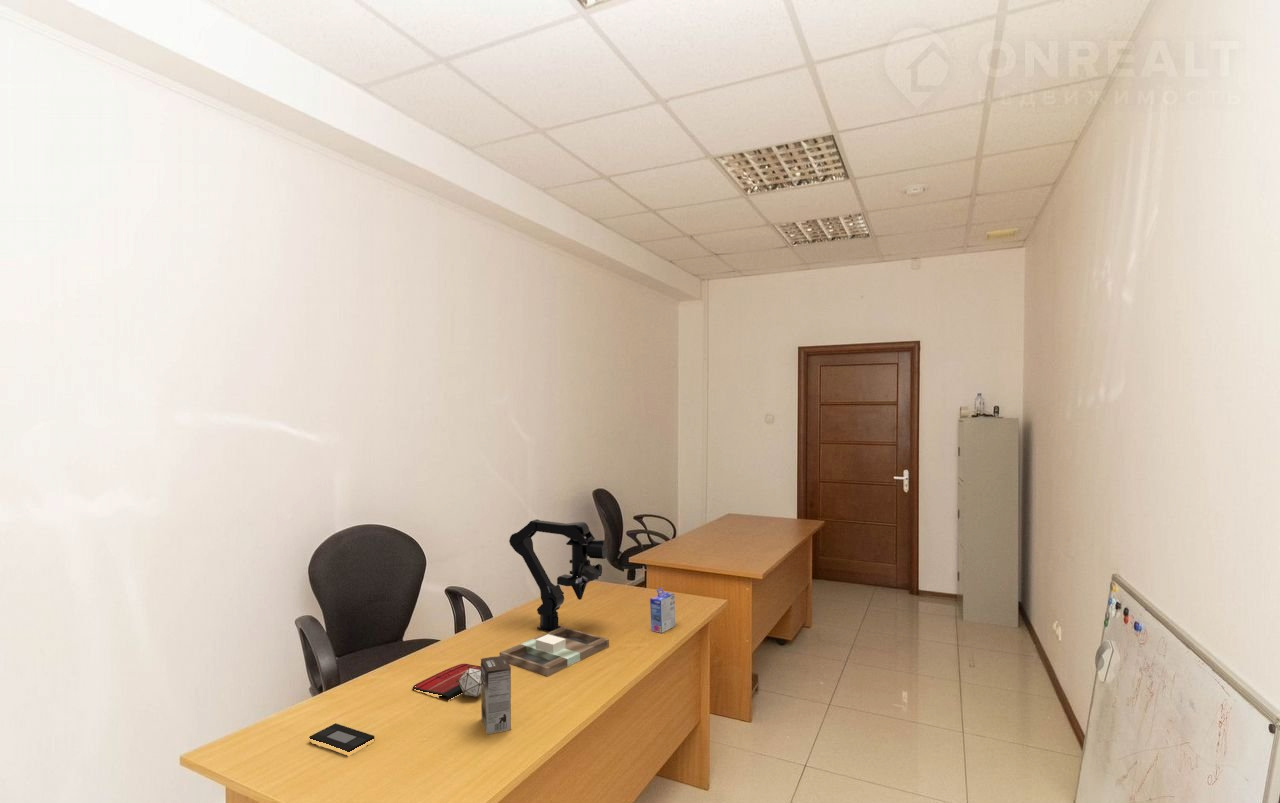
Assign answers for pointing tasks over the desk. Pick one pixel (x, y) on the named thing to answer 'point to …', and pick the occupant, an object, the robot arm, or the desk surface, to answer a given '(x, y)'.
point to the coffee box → (496, 694)
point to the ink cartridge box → (662, 611)
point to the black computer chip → (342, 737)
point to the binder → (445, 681)
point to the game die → (471, 682)
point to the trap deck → (548, 663)
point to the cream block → (550, 643)
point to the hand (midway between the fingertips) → (579, 599)
